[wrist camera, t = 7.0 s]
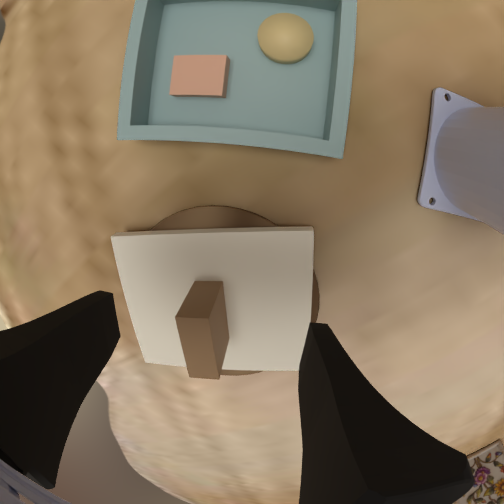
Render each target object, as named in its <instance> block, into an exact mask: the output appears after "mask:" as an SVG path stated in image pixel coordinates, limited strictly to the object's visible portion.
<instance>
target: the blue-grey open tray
mask: <svg viewBox="0 0 504 504" xmlns="http://www.w3.org/2000/svg"><path fill="white" fill-rule="evenodd" d="M356 15H357V0H136V1H135V5H134V10H133V14H132V19H131V24H130V29H129V35H128V41H127V47H126V53H125V60H124V67H123V74H122V83H121V92H120V102H119V114H118V129H117V140H170V141H193V142H210V143H223V144H235V145H246V146H256V147H265V148H273V149H281V150H289V151H296V152H303V153H309V154H316V155H322V156H328V157H334V158H339V159H343V152H344V145H345V138H346V130H347V122H348V114H349V105H350V96H351V86H352V76H353V64H354V51H355V35H356Z"/></svg>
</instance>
